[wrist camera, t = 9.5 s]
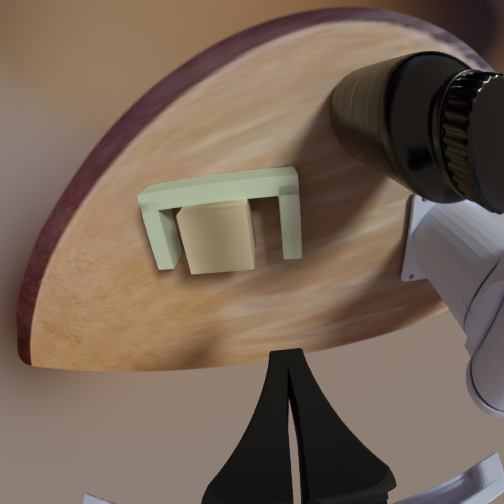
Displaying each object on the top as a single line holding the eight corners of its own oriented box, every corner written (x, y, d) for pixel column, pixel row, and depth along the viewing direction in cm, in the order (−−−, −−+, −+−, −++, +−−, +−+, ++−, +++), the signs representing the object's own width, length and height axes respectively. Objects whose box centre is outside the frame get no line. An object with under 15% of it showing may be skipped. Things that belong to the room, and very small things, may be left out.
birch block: (248, 187, 18) (245, 207, 15) (255, 239, 20) (254, 269, 17) (192, 194, 19) (176, 215, 15) (203, 244, 21) (191, 274, 17)
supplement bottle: (368, 182, 18) (473, 280, 7) (306, 105, 15) (388, 103, 5) (432, 128, 15) (561, 177, 5) (378, 50, 13) (506, 16, 2)
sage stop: (293, 166, 17) (298, 174, 15) (297, 241, 20) (302, 258, 18) (150, 184, 18) (137, 195, 16) (168, 253, 21) (158, 269, 19)
